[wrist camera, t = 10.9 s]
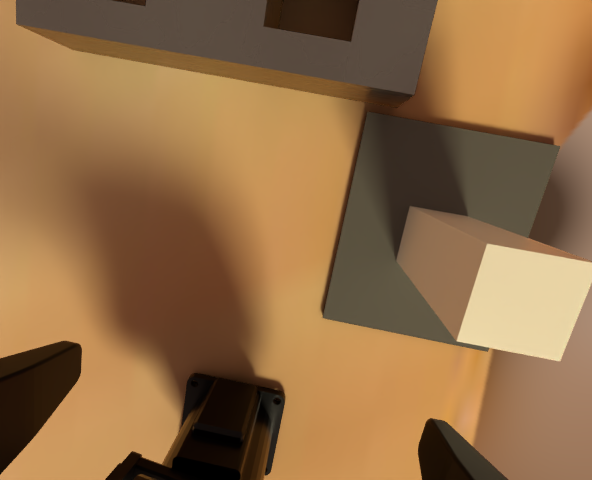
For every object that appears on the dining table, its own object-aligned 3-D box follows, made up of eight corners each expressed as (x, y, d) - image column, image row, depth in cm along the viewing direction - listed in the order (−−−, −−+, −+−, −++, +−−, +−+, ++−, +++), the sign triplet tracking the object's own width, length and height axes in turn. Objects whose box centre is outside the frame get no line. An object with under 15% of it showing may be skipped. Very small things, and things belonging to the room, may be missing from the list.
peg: (451, 271, 19) (560, 361, 10) (396, 260, 19) (456, 341, 11) (468, 216, 18) (599, 263, 10) (409, 205, 19) (487, 243, 10)
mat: (484, 348, 20) (487, 351, 20) (322, 315, 21) (322, 318, 20) (555, 146, 18) (560, 146, 17) (366, 112, 18) (367, 111, 18)
